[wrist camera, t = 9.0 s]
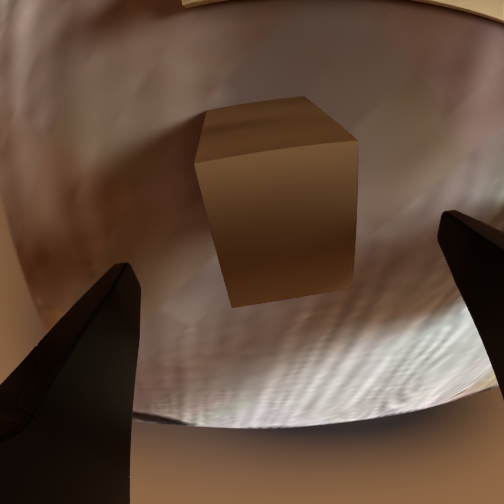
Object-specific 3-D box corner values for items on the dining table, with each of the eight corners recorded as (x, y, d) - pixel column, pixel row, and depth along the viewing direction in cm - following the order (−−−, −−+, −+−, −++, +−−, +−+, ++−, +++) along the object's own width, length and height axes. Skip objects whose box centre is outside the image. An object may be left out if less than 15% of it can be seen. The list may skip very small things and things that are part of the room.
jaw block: (312, 199, 15) (351, 287, 10) (228, 212, 15) (231, 307, 10) (304, 96, 12) (357, 140, 7) (206, 110, 12) (194, 164, 7)
